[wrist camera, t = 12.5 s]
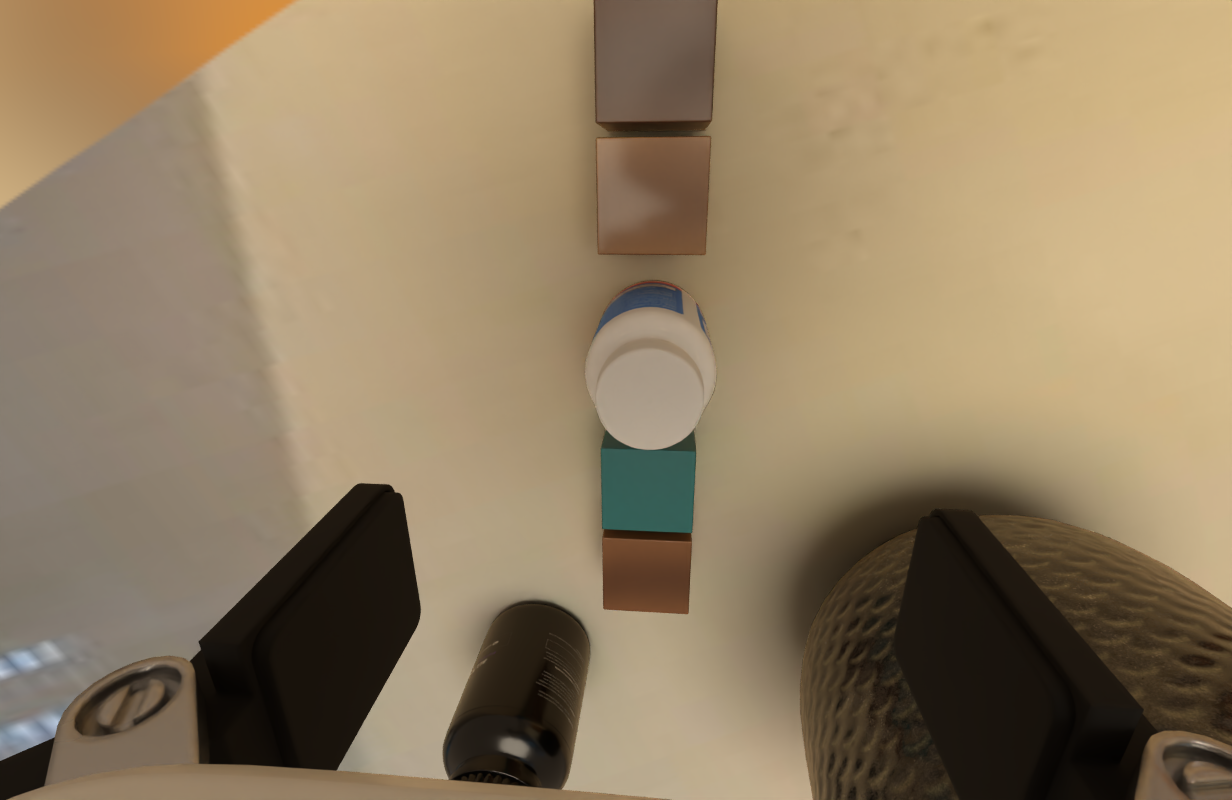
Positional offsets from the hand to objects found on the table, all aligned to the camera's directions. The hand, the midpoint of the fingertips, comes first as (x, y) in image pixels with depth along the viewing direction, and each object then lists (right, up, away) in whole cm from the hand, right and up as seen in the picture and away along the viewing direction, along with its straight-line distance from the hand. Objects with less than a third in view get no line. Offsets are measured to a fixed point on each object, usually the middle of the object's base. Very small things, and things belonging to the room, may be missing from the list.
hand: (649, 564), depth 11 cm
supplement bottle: (-6, -13, +28) cm, 31 cm away
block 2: (+1, +13, +17) cm, 21 cm away
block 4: (+1, -5, +24) cm, 24 cm away
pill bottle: (+1, +7, +20) cm, 21 cm away
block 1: (+1, +17, +15) cm, 23 cm away
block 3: (+1, 0, +22) cm, 22 cm away
